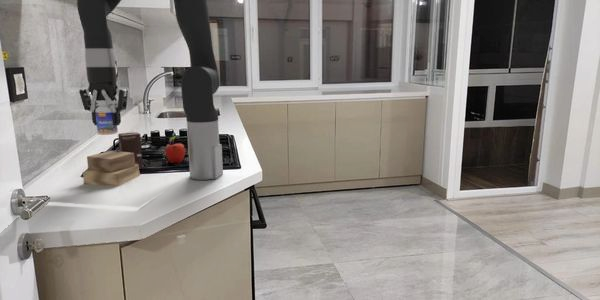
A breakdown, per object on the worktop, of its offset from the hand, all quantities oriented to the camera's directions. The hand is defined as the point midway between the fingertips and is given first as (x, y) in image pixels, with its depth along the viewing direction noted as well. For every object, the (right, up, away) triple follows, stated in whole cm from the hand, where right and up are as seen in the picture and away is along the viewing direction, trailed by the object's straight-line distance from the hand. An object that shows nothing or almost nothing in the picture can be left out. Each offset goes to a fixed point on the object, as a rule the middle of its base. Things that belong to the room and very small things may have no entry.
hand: (107, 124), depth 121 cm
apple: (+13, -12, +23) cm, 29 cm away
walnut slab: (0, -13, +3) cm, 13 cm away
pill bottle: (0, -3, +1) cm, 3 cm away
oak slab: (0, -17, +3) cm, 17 cm away
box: (+2, -14, +14) cm, 20 cm away
